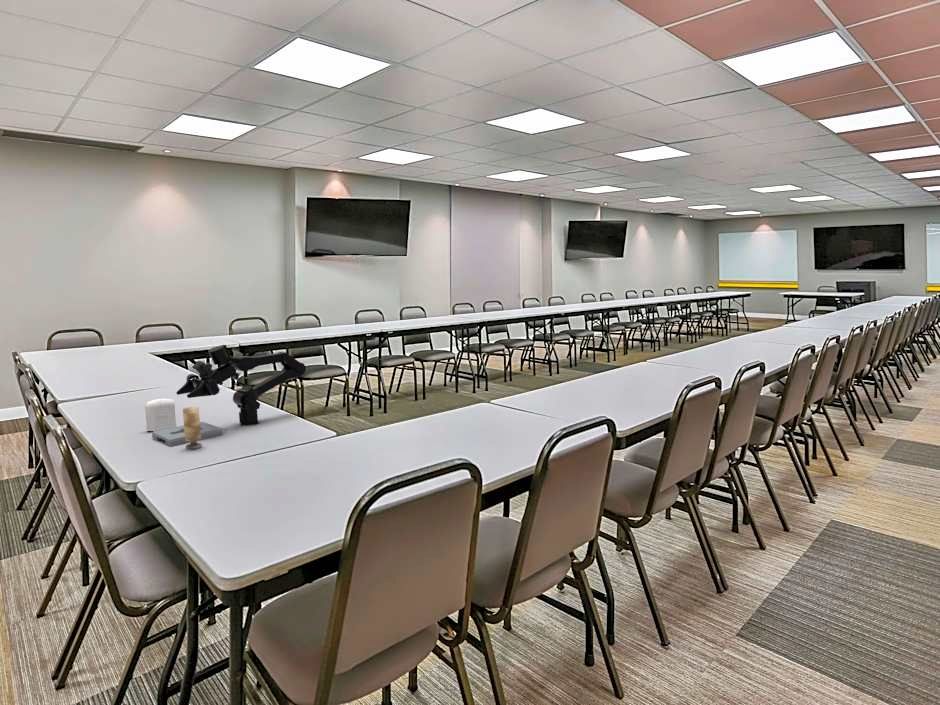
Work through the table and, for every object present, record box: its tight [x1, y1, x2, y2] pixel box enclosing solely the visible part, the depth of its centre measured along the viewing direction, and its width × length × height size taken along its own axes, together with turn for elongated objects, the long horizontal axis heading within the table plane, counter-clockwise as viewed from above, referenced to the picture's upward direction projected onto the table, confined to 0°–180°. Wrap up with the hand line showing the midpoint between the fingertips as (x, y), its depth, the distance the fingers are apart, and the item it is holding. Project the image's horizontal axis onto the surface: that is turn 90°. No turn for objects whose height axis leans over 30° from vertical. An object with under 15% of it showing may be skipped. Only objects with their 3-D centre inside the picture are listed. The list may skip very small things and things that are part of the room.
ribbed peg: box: [182, 406, 202, 450], centre depth 202 cm, size 5×5×14 cm
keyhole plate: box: [151, 421, 224, 447], centre depth 217 cm, size 19×16×2 cm
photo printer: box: [144, 398, 177, 432], centre depth 227 cm, size 10×4×12 cm, turn 123°
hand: (182, 395), depth 215 cm, fingers open, 9 cm apart
